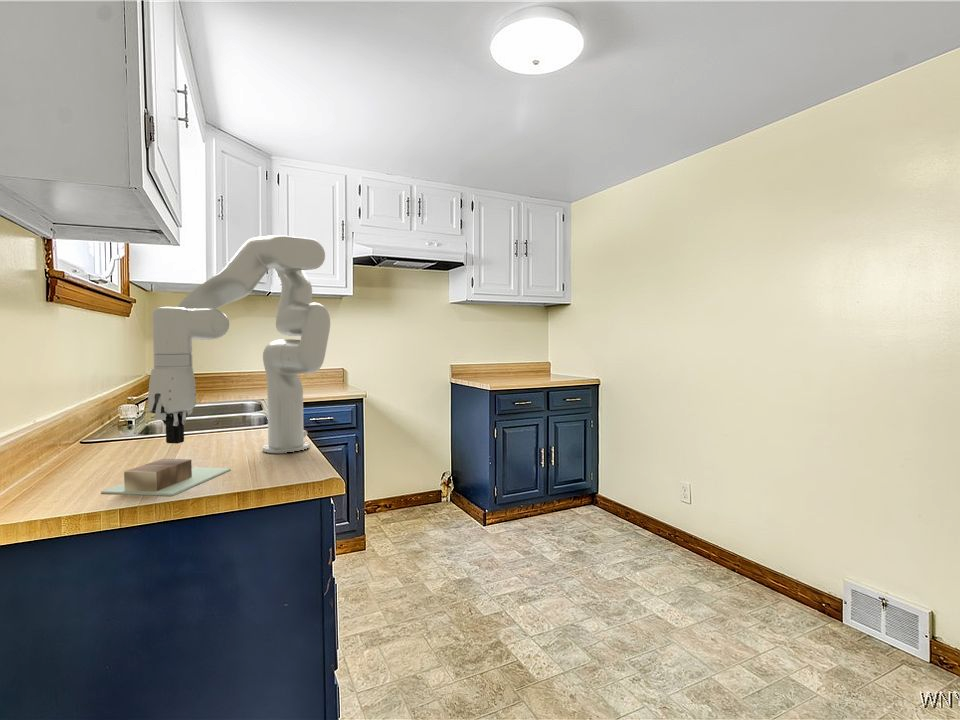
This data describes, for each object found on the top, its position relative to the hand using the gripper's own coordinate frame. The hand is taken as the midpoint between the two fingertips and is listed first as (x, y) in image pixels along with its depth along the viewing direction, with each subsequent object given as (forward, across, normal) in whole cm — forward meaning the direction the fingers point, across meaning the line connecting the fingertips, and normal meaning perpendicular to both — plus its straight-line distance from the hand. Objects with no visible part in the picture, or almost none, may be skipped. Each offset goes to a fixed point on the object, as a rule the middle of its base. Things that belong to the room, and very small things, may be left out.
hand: (175, 442), depth 116 cm
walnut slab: (+6, 0, 0) cm, 6 cm away
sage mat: (+8, +2, 0) cm, 8 cm away
